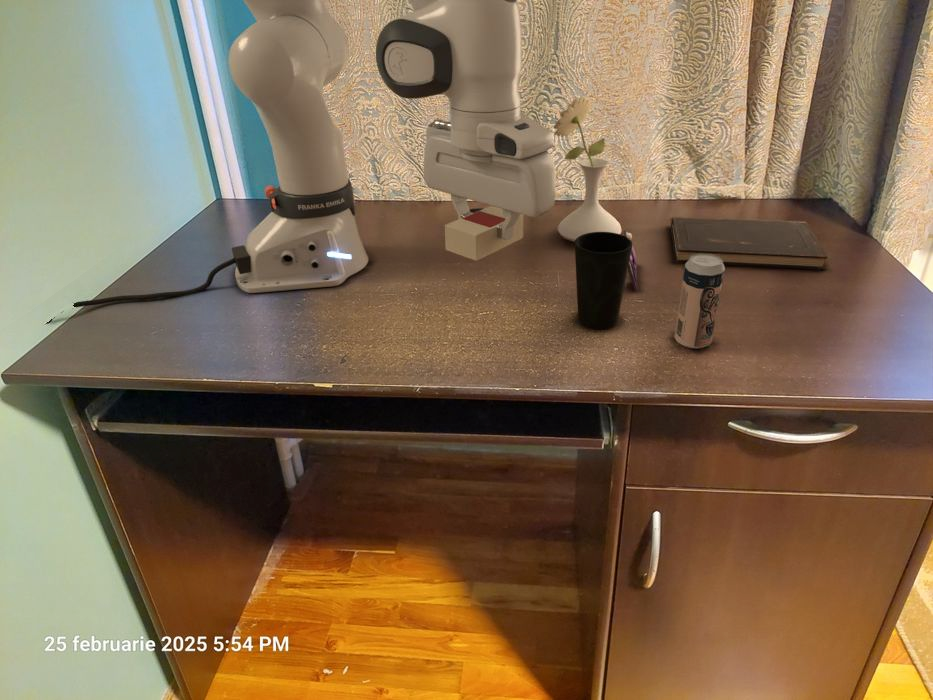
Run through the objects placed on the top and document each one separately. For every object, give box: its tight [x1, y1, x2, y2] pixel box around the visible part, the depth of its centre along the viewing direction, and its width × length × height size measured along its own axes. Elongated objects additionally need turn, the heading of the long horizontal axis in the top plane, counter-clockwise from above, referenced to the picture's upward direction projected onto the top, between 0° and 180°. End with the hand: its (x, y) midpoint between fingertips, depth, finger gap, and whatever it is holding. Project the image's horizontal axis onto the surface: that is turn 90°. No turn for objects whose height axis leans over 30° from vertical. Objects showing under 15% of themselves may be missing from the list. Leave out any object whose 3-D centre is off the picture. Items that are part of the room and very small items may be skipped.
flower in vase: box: [553, 95, 622, 243], centre depth 115 cm, size 13×11×25 cm
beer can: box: [674, 253, 726, 350], centre depth 86 cm, size 5×5×12 cm
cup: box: [574, 232, 634, 331], centre depth 92 cm, size 8×8×12 cm
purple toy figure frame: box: [623, 229, 638, 291], centre depth 106 cm, size 7×5×9 cm
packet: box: [444, 205, 525, 261], centre depth 91 cm, size 10×6×4 cm, turn 138°
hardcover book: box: [670, 216, 828, 270], centre depth 115 cm, size 16×23×2 cm
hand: (485, 231), depth 91 cm, fingers closed on packet, 5 cm apart
